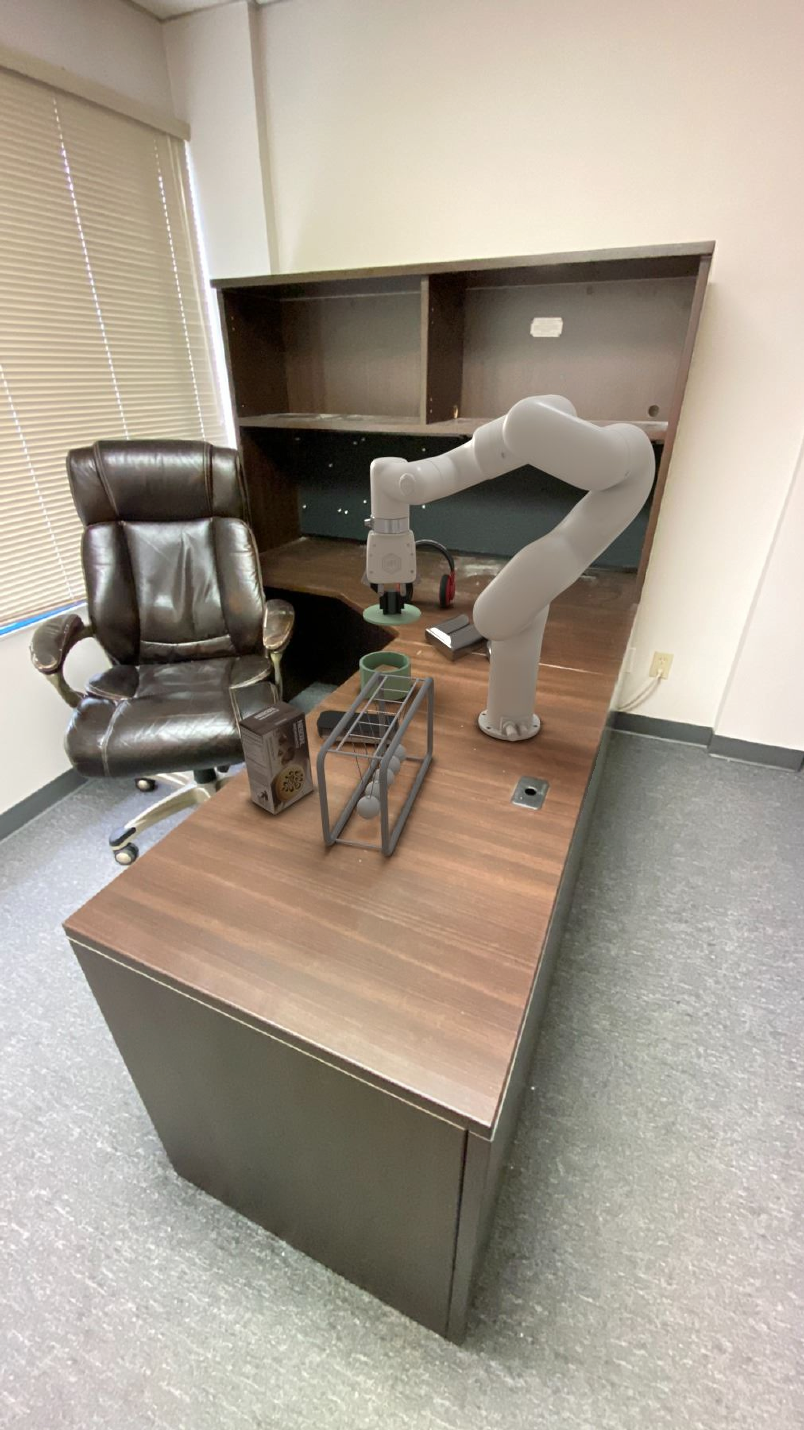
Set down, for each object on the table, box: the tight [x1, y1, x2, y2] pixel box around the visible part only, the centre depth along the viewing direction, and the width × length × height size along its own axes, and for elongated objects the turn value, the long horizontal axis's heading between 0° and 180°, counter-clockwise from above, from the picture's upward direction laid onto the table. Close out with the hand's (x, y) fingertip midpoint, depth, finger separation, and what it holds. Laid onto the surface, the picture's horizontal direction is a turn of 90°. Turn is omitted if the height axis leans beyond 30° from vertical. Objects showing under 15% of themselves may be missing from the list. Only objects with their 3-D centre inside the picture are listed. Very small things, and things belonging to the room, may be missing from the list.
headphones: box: [396, 538, 456, 608], centre depth 184 cm, size 18×10×20 cm, turn 78°
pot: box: [359, 650, 412, 702], centre depth 138 cm, size 11×11×8 cm
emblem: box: [424, 613, 492, 662], centre depth 162 cm, size 28×5×28 cm
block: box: [374, 664, 399, 671], centre depth 138 cm, size 4×4×5 cm
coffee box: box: [237, 700, 314, 815], centre depth 102 cm, size 9×6×16 cm
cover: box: [362, 587, 422, 627], centre depth 130 cm, size 12×12×6 cm
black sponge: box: [316, 709, 400, 745], centre depth 122 cm, size 16×8×4 cm, turn 81°
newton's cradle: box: [315, 671, 435, 857], centre depth 100 cm, size 30×10×18 cm, turn 164°
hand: (391, 611), depth 130 cm, fingers closed on cover, 2 cm apart
